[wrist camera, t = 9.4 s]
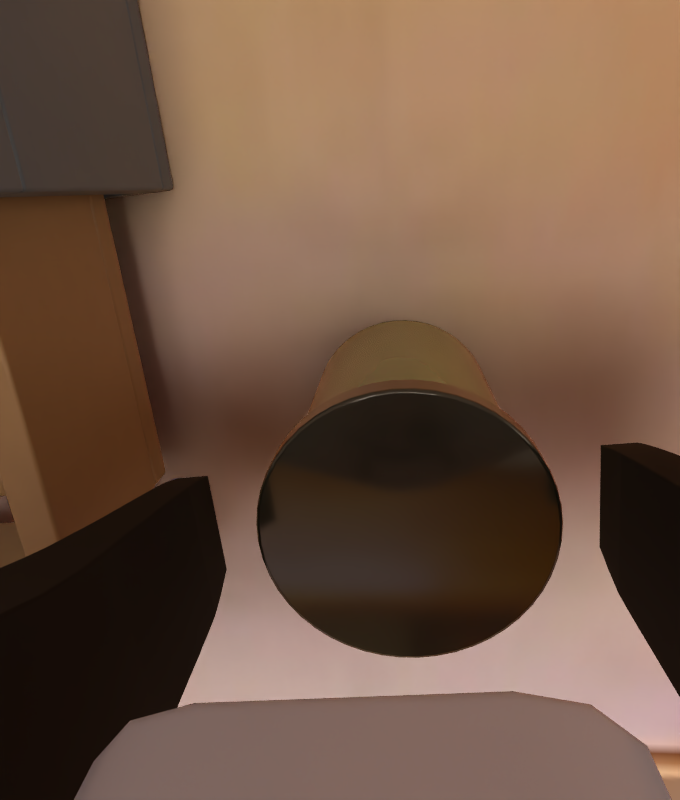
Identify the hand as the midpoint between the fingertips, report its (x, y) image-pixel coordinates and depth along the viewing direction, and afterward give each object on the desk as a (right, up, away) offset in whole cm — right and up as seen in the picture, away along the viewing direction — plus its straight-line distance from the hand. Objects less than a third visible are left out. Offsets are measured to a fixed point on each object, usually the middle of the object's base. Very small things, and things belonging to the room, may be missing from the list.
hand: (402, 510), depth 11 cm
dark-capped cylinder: (+1, +2, +6) cm, 6 cm away
